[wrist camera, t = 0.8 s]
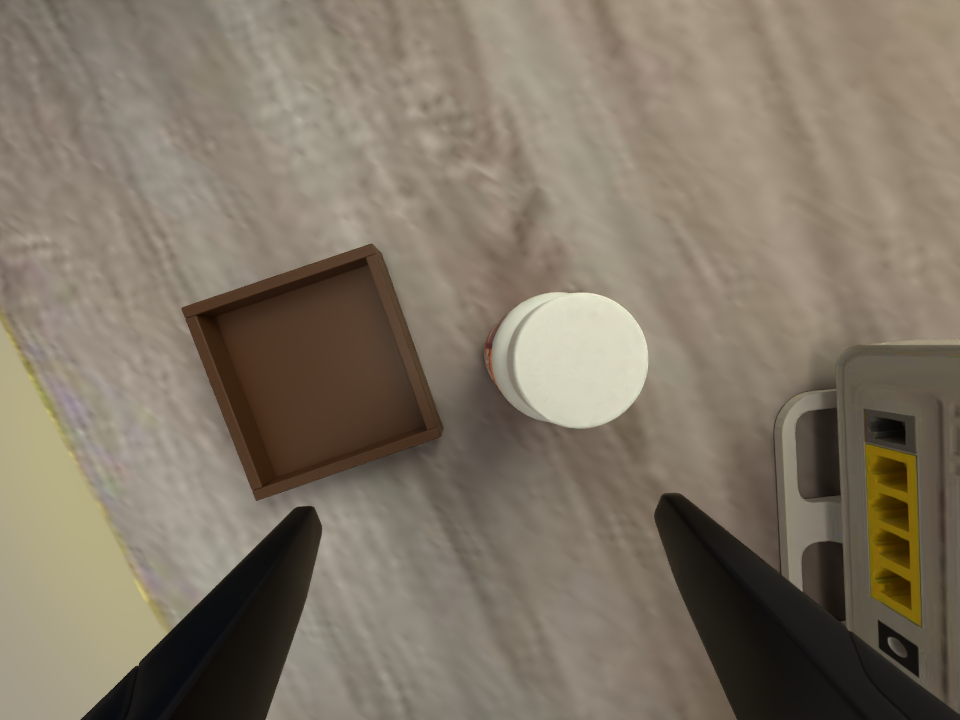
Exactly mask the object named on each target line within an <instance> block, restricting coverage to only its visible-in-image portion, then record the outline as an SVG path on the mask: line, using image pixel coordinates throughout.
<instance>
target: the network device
mask: <svg viewBox="0 0 960 720" xmlns="http://www.w3.org/2000/svg"><path fill="white" fill-rule="evenodd" d="M829 408H837V417H838V441H839V465H840V489H841V495H839V496H829V497H820V498H810V499H803V498H802V497H801V496H800V494H799V491H798V481H797V460H796V440H795V425H796V421H797V419H798V418H799V417H800V415H802V414H803V413H804V412H806V411H810V410H819V409H829ZM774 437H775V457H776V477H777V496H778V516H779V536H780V555H781V575H782V576H784V577H785V578H786V579H787V580H789V581H790V582H791V583H792V584H794V585H795V586H796V587H797V588H799V589H800V590H801V591H802V592H803V586H802V565H801V557H802V553H803V552H804V550H805V549H806V547H807V546H809V545H810V544H812V543H815V542H822V541H834V542H839V543H843V561H844V584H845V608H846V621H840V622H841V623H842V624H843V625H845V626H846V627H847V629H848V631H852V632H853V633H855V634H856V635H857V636H858V637H860V638H861V639H862V640H863V641H865V642H866V643H867V644H868V645H870V646H871V647H872V648H873V649H875V650H876V651H877V652H878V653H880V654H881V655H882V656H884V657H885V658H886V659H887V660H889V661H890V662H891V663H892V664H894V665H895V666H896V667H898V668H899V669H900V670H901V671H903V672H904V673H905V674H907V675H908V676H909V677H910V678H912V679H913V680H914V681H916V682H917V683H918V684H920V685H921V686H922V687H924V688H925V689H926V690H928V691H929V692H930V693H932V694H933V695H934V696H936V697H937V698H938V699H940V700H941V701H942V702H944V703H945V704H946V705H948V706H949V707H950V708H952V709H953V710H954V711H956V712H957V713H958V714H960V339H921V340H910V341H900V342H889V343H878V344H868V345H857V346H854V347H851V348H849V349H847V350H845V351H844V352H843V353H842V354H841V355H840V356H839V358H838V360H837V363H836V389H828V390H818V391H809V392H804V393H801V394H799V395H797V396H795V397H793V398H792V399H791V400H789V401H788V402H787V403H786V404H785V405H784V406H783V408H782V409H781V411H780V413H779V414H778V416H777V419H776V423H775V431H774Z"/></svg>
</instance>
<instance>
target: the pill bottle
mask: <svg viewBox="0 0 960 720" xmlns="http://www.w3.org/2000/svg"><path fill="white" fill-rule="evenodd" d="M484 355H485V363H486V367H487V370H488V373H489V375H490V377H491V378H492V380H493V381H494V383H495V384H496V386H497V387H498V389H499V390H500V391H501V393H502V394H503V395H504V396H505V398H506V399H507V400H508V401H509V402H510V403H511V404H512V405H513V406H514V407H515V408H516V409H517V410H519V411H520V412H522V413H524V414H525V415H527V416H529V417H532V418H534V419H537V420H541V421H546V422H551V423H554V424H556V425H559V426H563V427H567V428H576V429H584V428H592V427H597V426H600V425H603V424H605V423H608V422H610V421H612V420H614V419H615V418H617V417H618V416H620V415H621V414H622V413H624V412H625V411H626V410H627V409H628V408H629V407H630V406H631V405H632V404H633V402H634V401H635V400H636V399H637V397H638V395H639V394H640V392H641V390H642V387H643V385H644V382H645V379H646V375H647V370H648V350H647V344H646V341H645V337H644V334H643V332H642V330H641V328H640V326H639V325H638V323H637V322H636V320H635V319H634V318H633V317H632V315H631V314H630V313H629V312H628V311H627V310H626V309H625V308H623V307H622V306H621V305H619V304H618V303H616V302H614V301H613V300H611V299H609V298H606V297H604V296H601V295H597V294H592V293H571V294H570V293H562V292H555V293H546V294H541V295H538V296H535V297H532V298H530V299H528V300H525V301H524V302H522V303H520V304H519V305H518V306H517V307H515V308H514V309H513V310H512V311H510V312H509V313H508V314H506V315H505V316H504V317H503V318H501V319H500V320H499V321H498V322H497V323H496V324H495V326H494V327H493V328H492V330H491V331H490V333H489V335H488V337H487V340H486V344H485V352H484Z"/></svg>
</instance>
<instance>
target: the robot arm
mask: <svg viewBox="0 0 960 720" xmlns="http://www.w3.org/2000/svg"><path fill="white" fill-rule="evenodd" d="M654 518H655V522H656V526H657V528H658V531H659V534H660V537H661V540H662V543H663V546H664V549H665V552H666V555H667V558H668V561H669V564H670V567H671V570H672V573H673V575H674V578H675V581H676V584H677V586H678V588H679V591H680V593H681V595H682V598H683V600H684V602H685V604H686V607H687V609H688V611H689V613H690V616H691V618H692V620H693V622H694V624H695V627H696V629H697V631H698V633H699V636H700V638H701V640H702V642H703V645H704V647H705V649H706V651H707V654H708V656H709V658H710V660H711V662H712V665H713V667H714V669H715V671H716V674H717V676H718V678H719V680H720V683H721V685H722V687H723V689H724V691H725V694H726V696H727V698H728V700H729V703H730V705H731V707H732V709H733V712H734V714H735V716H736V718H737V720H960V714H958V713H957V712H956V711H954V710H953V709H952V708H950V707H949V706H948V705H946V704H945V703H944V702H942V701H941V700H940V699H938V698H937V697H936V696H934V695H933V694H932V693H930V692H929V691H928V690H926V689H925V688H924V687H922V686H921V685H920V684H918V683H917V682H916V681H914V680H913V679H912V678H910V677H909V676H908V675H907V674H905V673H904V672H903V671H901V670H900V669H899V668H898V667H896V666H895V665H894V664H892V663H891V662H890V661H889V660H887V659H886V658H885V657H884V656H882V655H881V654H880V653H878V652H877V651H876V650H875V649H873V648H872V647H871V646H870V645H868V644H867V643H866V642H865V641H863V640H862V639H861V638H860V637H858V636H857V635H856V634H855V633H853V632H852V631H848V629H847V627H846V626H845V625H843V624H842V623H841V622H840V621H838V620H837V619H836V618H835V617H833V616H832V615H831V614H830V613H828V612H827V611H826V610H825V609H823V608H822V607H821V606H820V605H818V604H817V603H816V602H815V601H813V600H812V599H811V598H810V597H809V596H807V595H806V594H805V593H804V592H802V591H801V590H800V589H799V588H797V587H796V586H795V585H794V584H792V583H791V582H790V581H789V580H787V579H786V578H785V577H784V576H782V575H781V574H780V573H779V572H777V571H776V570H775V569H774V568H772V567H771V566H770V565H769V564H767V563H766V562H765V561H764V560H763V559H761V558H760V557H759V556H758V555H756V554H755V553H754V552H753V551H751V550H750V549H749V548H748V547H746V546H745V545H744V544H743V543H741V542H740V541H739V540H738V539H736V538H735V537H734V536H733V535H731V534H730V533H729V532H728V531H726V530H725V529H724V528H723V527H721V526H720V525H719V524H718V523H716V522H715V521H714V520H713V519H712V518H710V517H709V516H708V515H707V514H705V513H704V512H703V511H702V510H700V509H699V508H698V507H697V506H695V505H694V504H693V503H692V502H690V501H689V500H688V499H687V498H685V497H684V496H683V495H681V494H679V493H665V494H663V495H662V496H661V498H660V500H659V503H658V505H657V508H656V510H655V514H654ZM321 535H322V525H321V522H320V520H319V517H318V515H317V512H316V510H315V508H314V507H312V506H303V507H297V508H295V509H294V510H292V511H291V512H290V513H289V514H288V515H287V516H286V517H285V518H284V519H283V520H282V521H281V522H280V523H279V524H278V525H277V526H276V527H275V528H274V529H273V530H272V531H271V532H270V533H269V534H268V535H267V536H266V537H265V538H264V539H263V540H262V541H261V542H260V543H259V544H258V545H257V546H256V547H255V548H254V549H253V550H252V551H251V552H250V553H249V554H248V555H247V556H246V557H245V558H244V559H243V560H242V561H241V562H240V563H239V564H238V565H237V566H236V567H235V568H234V569H233V570H232V571H231V572H230V573H229V574H228V575H227V576H226V577H225V578H224V579H223V580H222V581H221V582H220V583H219V584H218V585H217V586H216V587H215V588H214V589H213V590H212V591H211V592H210V593H209V594H208V595H207V596H206V597H205V598H204V599H203V600H202V601H201V602H200V603H199V604H198V605H197V606H196V607H195V608H194V609H193V610H192V611H191V612H190V613H189V614H188V615H187V616H186V617H185V618H184V619H183V620H182V621H181V622H180V623H179V624H178V625H177V626H176V627H174V628H173V629H172V630H171V631H170V632H169V633H168V634H167V635H166V636H165V637H164V638H163V639H162V641H160V642H159V644H157V645H156V646H155V647H154V649H152V650H151V651H150V652H149V653H148V654H147V656H145V657H144V658H143V659H142V660H141V661H140V663H139V666H135V667H134V668H133V669H132V670H131V671H130V672H129V673H128V674H127V675H126V676H125V677H124V678H123V679H122V680H121V681H120V682H119V683H118V684H117V685H116V686H115V687H114V688H113V689H112V690H111V691H110V692H109V693H108V694H107V695H106V696H105V697H104V698H102V699H101V700H100V701H99V702H98V703H97V704H96V705H95V706H94V707H93V708H92V709H91V710H90V711H89V712H88V713H87V714H86V715H85V716H84V717H83V718H82V719H81V720H265V719H266V716H267V713H268V711H269V708H270V705H271V702H272V699H273V696H274V693H275V690H276V687H277V684H278V681H279V678H280V675H281V672H282V669H283V667H284V664H285V661H286V658H287V655H288V652H289V649H290V646H291V643H292V640H293V637H294V634H295V631H296V628H297V625H298V623H299V620H300V617H301V614H302V611H303V608H304V604H305V601H306V598H307V594H308V590H309V586H310V582H311V577H312V573H313V569H314V565H315V560H316V556H317V552H318V548H319V543H320V539H321Z"/></svg>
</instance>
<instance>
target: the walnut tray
mask: <svg viewBox="0 0 960 720" xmlns="http://www.w3.org/2000/svg"><path fill="white" fill-rule="evenodd" d="M182 311H183V314H184V316H185V318H186V322H187V324H188V327H189V329H190V332H191V334H192V337H193V340H194V342H195V345H196V347H197V350H198V352H199V355H200V358H201V360H202V363H203V365H204V368H205V370H206V373H207V376H208V378H209V381H210V383H211V386H212V388H213V391H214V394H215V396H216V399H217V401H218V404H219V406H220V409H221V411H222V414H223V417H224V419H225V422H226V424H227V427H228V429H229V432H230V435H231V437H232V440H233V442H234V445H235V447H236V450H237V453H238V455H239V458H240V460H241V463H242V465H243V468H244V471H245V473H246V476H247V478H248V481H249V483H250V486H251V489H252V490H253V494H254V497H255V499H256V501H258V500H260V499H263V498H266V497H269V496H272V495H275V494H278V493H281V492H283V491H286V490H289V489H292V488H295V487H298V486H301V485H304V484H306V483H309V482H312V481H315V480H318V479H321V478H324V477H327V476H330V475H332V474H335V473H338V472H341V471H344V470H347V469H350V468H353V467H355V466H358V465H361V464H364V463H367V462H370V461H373V460H376V459H378V458H381V457H384V456H387V455H390V454H393V453H396V452H399V451H402V450H404V449H407V448H410V447H413V446H416V445H419V444H422V443H425V442H427V441H430V440H433V439H436V438H439V437H441V434H442V431H443V426H442V423H441V420H440V417H439V415H438V412H437V409H436V406H435V403H434V400H433V398H432V395H431V392H430V389H429V386H428V383H427V381H426V378H425V375H424V372H423V369H422V366H421V364H420V361H419V358H418V355H417V352H416V349H415V347H414V344H413V341H412V338H411V335H410V333H409V330H408V327H407V324H406V321H405V318H404V316H403V313H402V310H401V307H400V304H399V301H398V299H397V296H396V293H395V290H394V287H393V284H392V282H391V279H390V276H389V273H388V270H387V267H386V265H385V262H384V259H383V256H382V253H381V252H380V251H379V250H378V249H377V248H376V247H375V246H374V245H373V244H369V245H366V246H363V247H360V248H357V249H354V250H351V251H348V252H345V253H342V254H339V255H336V256H333V257H330V258H327V259H324V260H322V261H319V262H316V263H313V264H310V265H307V266H304V267H301V268H298V269H295V270H292V271H289V272H286V273H283V274H280V275H277V276H274V277H271V278H268V279H265V280H262V281H259V282H256V283H253V284H250V285H247V286H244V287H241V288H239V289H236V290H233V291H230V292H227V293H224V294H221V295H218V296H215V297H212V298H209V299H206V300H203V301H200V302H197V303H194V304H191V305H188V306H185V307H182Z"/></svg>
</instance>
